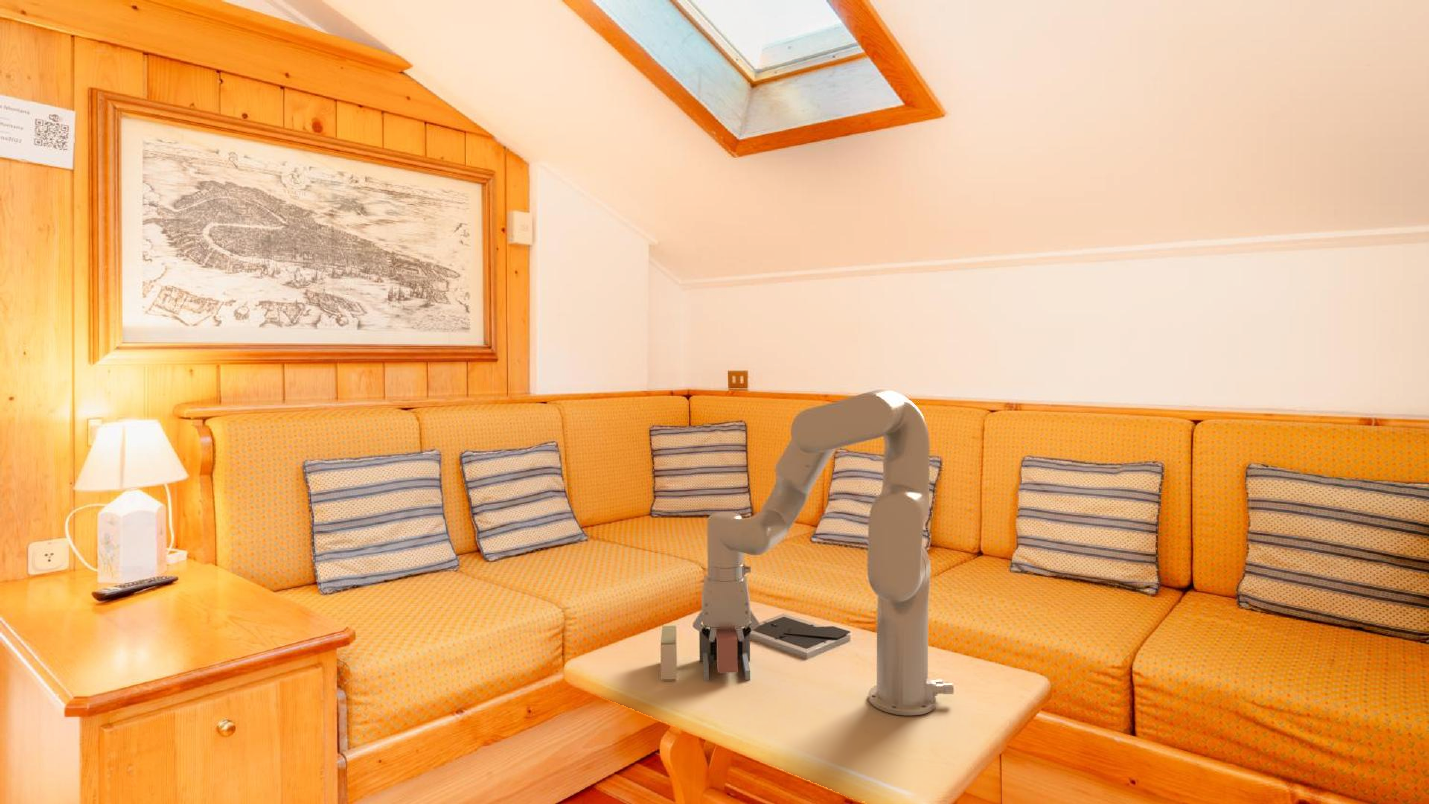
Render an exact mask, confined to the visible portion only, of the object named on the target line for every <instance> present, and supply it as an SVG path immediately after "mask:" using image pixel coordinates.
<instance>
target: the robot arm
mask: <svg viewBox="0 0 1429 804" xmlns="http://www.w3.org/2000/svg"><path fill="white" fill-rule="evenodd" d="M790 436H791V437H790V438H791V439H790V441H789V442H788V444H787V446H786V448H785V449H784V451H783V453H782V454H781V456H780V458H779V459H778V461H777V462H776V464H775V467H774V473H775V478H776V479H775V483H774V486H773V489H772V491H771V493H770V494H769V496H768V498H767V499H766V501H765V502H764V504H763V506H762V507H761V509H760V510H759V512H758V513H756V514H754V515H752V516H750V517H746V518H743V517H742V515H740V513H736V512H732V511H719V512H715V513H712V514H710V515H709V516H708V518H707V520H706V523H707V525H706V526H707V527H706V529H707V530H706V533H707V535H706V536H707V541H706V543H707V544H706V545H707V576H705V577H704V578H703V582H702V583H703V584H702V589H701V590H702V591H701V610H700V612H698V615H697V617H696V618H695V620H694V621H693V623H692V627H693V629H695V630H697V631H698V632H699V631H700V632H702V634H703V635H704V636H706V637H707V638H708V639H709V641H710V655H713V656H714V661H716V660H717V639H716V636H715V635H716V630H717V628H732V627H735V628H736V630H737V660H740V655H743V641H744V638H745V637H746V636H747V635H748V634H749V633H750V632H751V631H752V630H754V629H756V628H757V627H759V622H760V621H759V620H758V619H757V617H756V615H755V614H754V612H753V611H752V610H751V599H750V590H749V587H750V586H749V581H748V577H747V576H746V574H751V566H749V565H748V566H747V565H745V564H744V561H745V560H744V558H745V557H744V555H745V554H746V555H751V556H760V555H764V554H765V553H767V552H768V551H770V550H771V549H772V548H774V547H775V546H777V545H778V544H780V543H781V542H782V541H783V540H784V538H786V536H787V535H788V533H789V532H790V530H791V528H792V526H793V525H794V523H795V522H796V520H797V518H798V517H799V516H800V513H802V510H803V508H804V507H805V504H806V502H807V500H808V498H809V496H810V494H811V493H812V489H813V487H814V486H815V484H816V482H817V480H818V479H819V478H820V476H821V474H822V472H823V471H824V469H825V467H827V464H828V462H829V461H830V460H831V457H832V456H833V454H834V453H835V451H836V449H837V450H838V449H841V448H844V447H845V448H846V447H849V446H852V445H856V444H861V443H864V442H865V443H866V442H868V441H873V440H877V439H878V438H882V437H883V441H884V442H883V443H884V451H883V458H882V459H883V460H882V468H883V469H882V470H883V472H882V474H883V475H882V485H881V486H882V488H881V492H880V493H879V494H878V495H877V496H876V498H875V499H874V500H873V502H872V504H871V507H870V511H869V515H868V528H867V529H868V534H867V535H868V536H867V561H866V562H867V563H866V564H867V565H866V568H867V569H866V570H867V571H866V573H867V579H868V583H869V585H870V587H871V590H872V591H873V592H874V593H875V595H876V596H877V604H876V612H877V613H876V685H874V686H873V687H871V688H870V689H869V691H868V701H869V702H870V704H871V705H873V707H874V708H876V709H878V710H880V711H882V712H885V713H889V714H892V715H898V716H912V717H913V716H919V715H924V714H928V713H930V712H931V711H933V710H934V709H935V708H936V706H937V698H936V697H937V696H938V695H939V694H940V695H941V694H942V695H954V685H953V683H950V682H949V683H943V680H942V679H930V678H929V675H928V674H929V614H930V613H929V610H930V609H929V605H930V602H929V601H930V586H931V573H932V571H931V569H932V568H931V558H930V555H929V552H928V551H927V549H926V548H925V546H924V545H923V536H924V535H923V531H924V526H925V525H926V523H927V521H928V518H929V514H930V471H931V470H930V457H931V456H930V452H931V451H930V449H931V447H930V434H929V429H928V425H927V422H926V419H925V418H924V416H923V413H922V412H921V411H920V409H919V408H918V406H917V405H915V404H914V403H913V402H912V401H911V400H909V399H908V398H907V397H905V396H904V395H902V394H900V393H897V392H895V391H893V390H887V389H876V390H873V391H868V392H864V393H860V394H857V395H853V396H851V397H847V398H844V399H841V400H836V401H833V402H829V403H826V404H822V405H817V406H813V407H809V408H805V409H803V410H802V411H800V412H799V413H798V414H797V415H796V416H795V417H794V419H793V421H792V423H791V426H790ZM708 628H710V630H709V629H708ZM742 628H743V629H742Z"/></svg>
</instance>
